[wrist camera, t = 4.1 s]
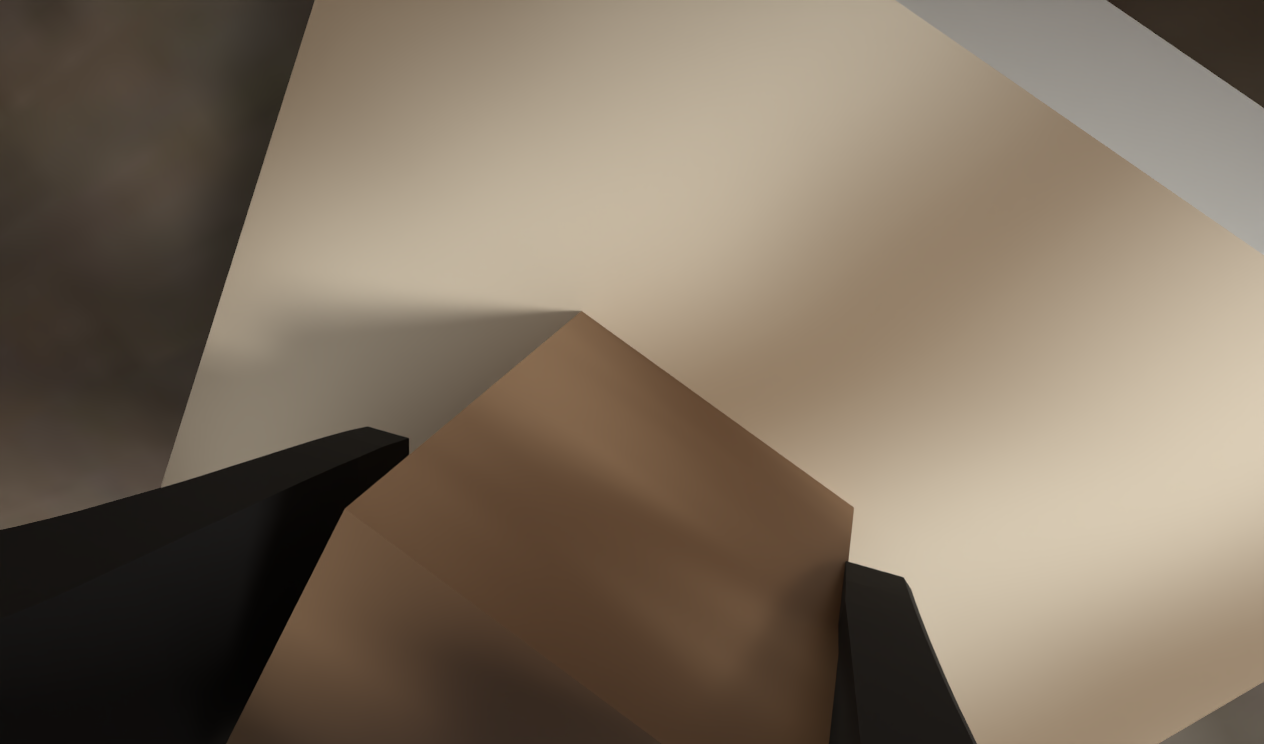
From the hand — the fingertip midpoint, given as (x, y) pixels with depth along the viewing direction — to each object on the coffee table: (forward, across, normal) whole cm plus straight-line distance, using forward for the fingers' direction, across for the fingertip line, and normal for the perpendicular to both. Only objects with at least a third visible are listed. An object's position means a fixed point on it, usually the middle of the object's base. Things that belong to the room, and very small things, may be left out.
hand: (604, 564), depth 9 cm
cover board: (+2, 0, 0) cm, 2 cm away
